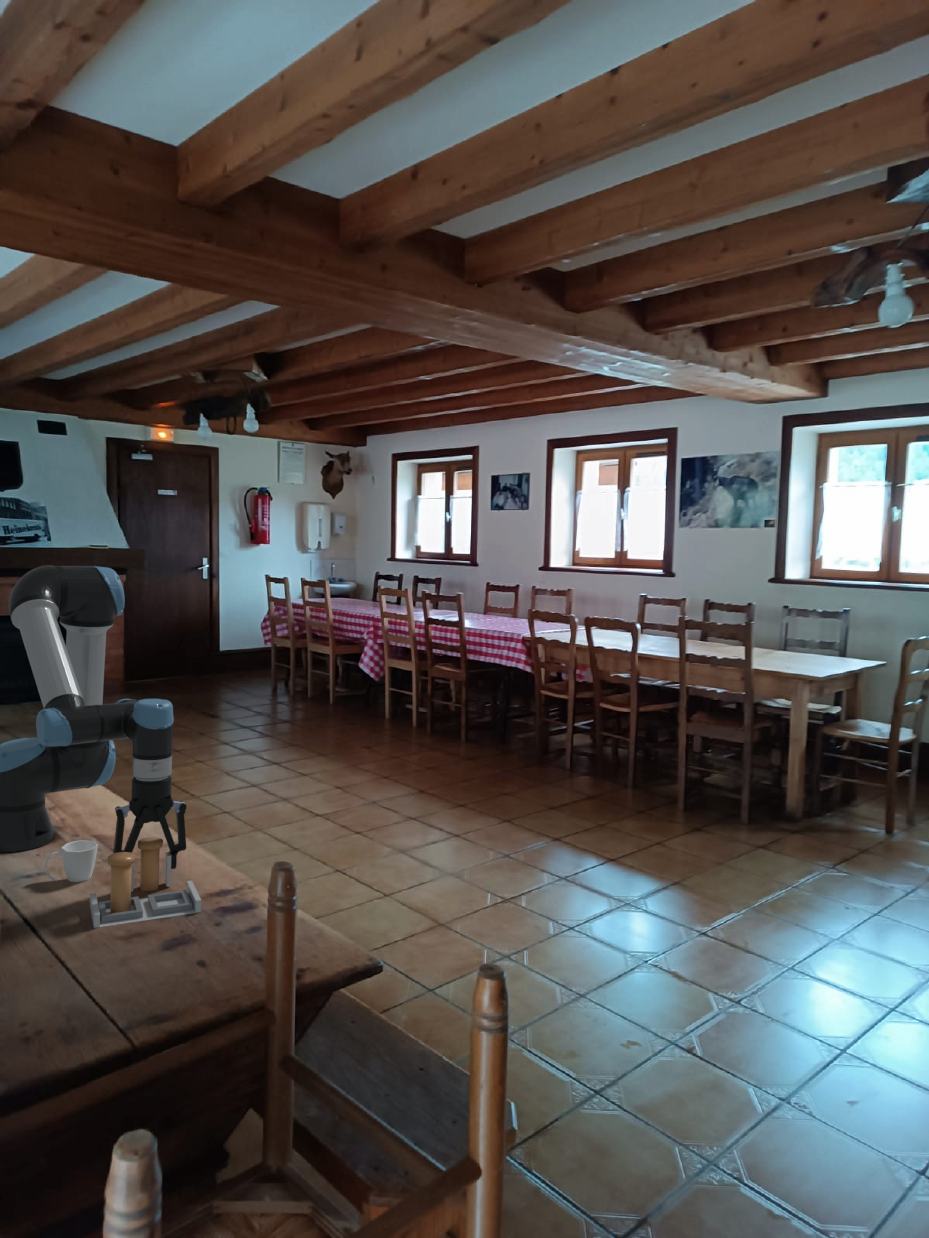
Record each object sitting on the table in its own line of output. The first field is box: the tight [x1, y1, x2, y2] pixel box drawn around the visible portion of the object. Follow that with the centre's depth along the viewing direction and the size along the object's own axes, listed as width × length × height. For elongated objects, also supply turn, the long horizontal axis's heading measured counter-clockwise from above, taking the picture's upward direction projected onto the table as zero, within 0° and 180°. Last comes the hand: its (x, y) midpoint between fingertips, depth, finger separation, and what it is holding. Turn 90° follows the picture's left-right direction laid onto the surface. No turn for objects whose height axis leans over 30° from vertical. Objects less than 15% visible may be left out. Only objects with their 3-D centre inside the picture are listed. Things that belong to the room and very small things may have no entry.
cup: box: [44, 839, 99, 883], centre depth 176 cm, size 7×10×8 cm
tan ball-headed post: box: [137, 836, 164, 892], centre depth 174 cm, size 5×5×11 cm
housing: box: [89, 880, 202, 929], centre depth 164 cm, size 10×19×4 cm, turn 118°
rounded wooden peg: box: [107, 852, 136, 914], centre depth 162 cm, size 5×5×11 cm
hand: (149, 886), depth 174 cm, fingers open, 6 cm apart
